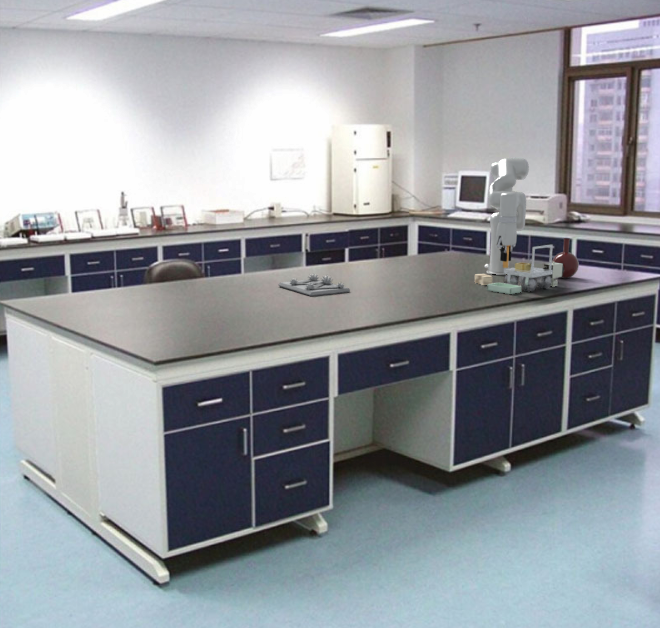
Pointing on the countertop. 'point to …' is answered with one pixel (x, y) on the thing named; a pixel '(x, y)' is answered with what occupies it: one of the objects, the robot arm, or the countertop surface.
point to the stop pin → (505, 264)
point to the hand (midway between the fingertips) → (505, 260)
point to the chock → (483, 279)
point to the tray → (504, 288)
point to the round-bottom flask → (567, 260)
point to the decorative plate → (315, 286)
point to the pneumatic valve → (555, 272)
